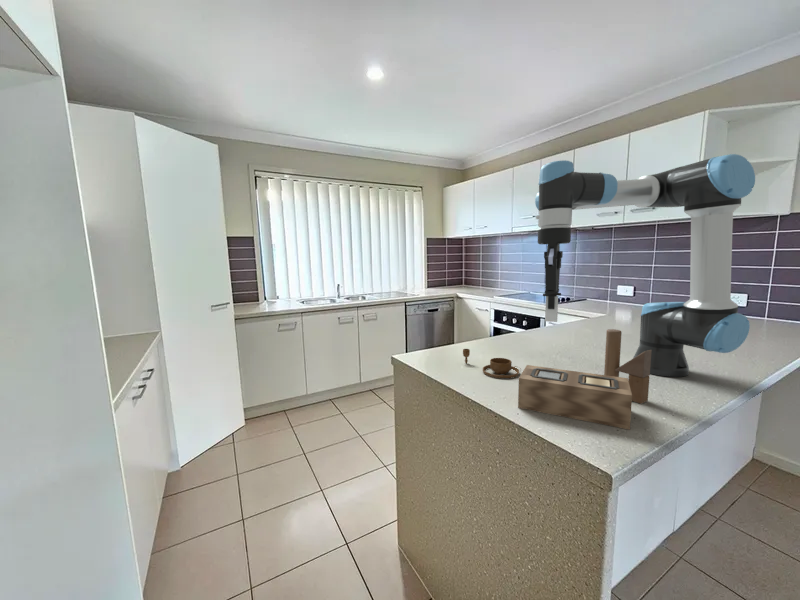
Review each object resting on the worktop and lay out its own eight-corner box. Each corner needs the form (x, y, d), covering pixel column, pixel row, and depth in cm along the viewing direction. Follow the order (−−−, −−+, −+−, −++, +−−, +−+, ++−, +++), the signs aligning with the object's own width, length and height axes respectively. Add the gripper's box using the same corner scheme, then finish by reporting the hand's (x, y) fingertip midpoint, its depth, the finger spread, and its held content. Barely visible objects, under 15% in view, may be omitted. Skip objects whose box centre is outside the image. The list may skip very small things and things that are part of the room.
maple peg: (607, 407, 84) (609, 380, 83) (608, 415, 79) (610, 387, 78) (585, 403, 86) (586, 377, 85) (584, 411, 82) (585, 383, 81)
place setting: (484, 383, 106) (484, 365, 105) (459, 364, 125) (459, 349, 124) (533, 378, 109) (533, 360, 108) (502, 360, 129) (502, 345, 128)
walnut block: (625, 408, 85) (627, 377, 84) (629, 429, 74) (632, 394, 73) (526, 391, 97) (526, 364, 96) (518, 407, 86) (518, 377, 85)
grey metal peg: (559, 398, 89) (560, 373, 88) (557, 406, 85) (558, 379, 84) (539, 395, 92) (540, 370, 91) (536, 402, 87) (537, 376, 86)
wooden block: (641, 404, 87) (646, 337, 85) (599, 390, 96) (603, 329, 94) (648, 401, 89) (653, 335, 86) (607, 388, 98) (610, 328, 96)
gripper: (541, 230, 90) (539, 316, 93) (534, 227, 79) (531, 324, 82) (572, 228, 87) (569, 318, 89) (569, 224, 75) (565, 327, 78)
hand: (551, 321), depth 86 cm, fingers closed
